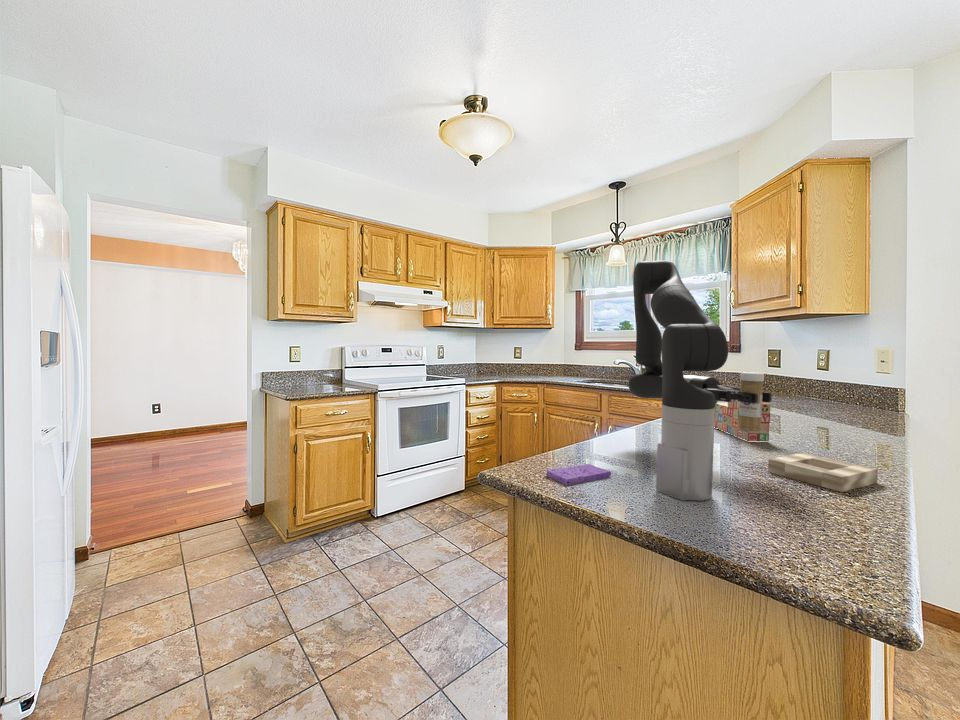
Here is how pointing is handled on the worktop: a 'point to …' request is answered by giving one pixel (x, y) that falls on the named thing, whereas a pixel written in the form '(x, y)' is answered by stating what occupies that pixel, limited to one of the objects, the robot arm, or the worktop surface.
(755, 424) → the sprinkles bottle
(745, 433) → the stack of blocks
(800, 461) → the birch socket board
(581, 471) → the sponges
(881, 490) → the worktop surface
